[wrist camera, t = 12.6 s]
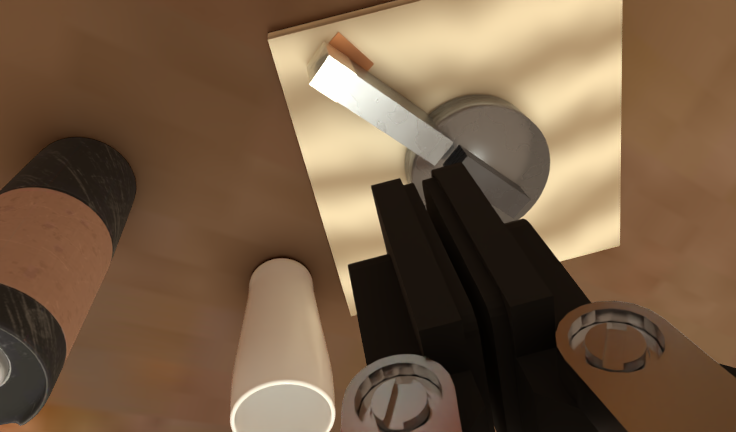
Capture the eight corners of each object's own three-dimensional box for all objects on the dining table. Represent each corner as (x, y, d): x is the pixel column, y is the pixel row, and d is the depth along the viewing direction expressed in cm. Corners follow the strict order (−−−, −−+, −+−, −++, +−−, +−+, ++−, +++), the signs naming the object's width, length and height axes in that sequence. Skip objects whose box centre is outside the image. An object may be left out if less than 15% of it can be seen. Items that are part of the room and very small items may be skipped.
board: (268, 33, 39) (267, 40, 37) (607, -54, 40) (624, -51, 38) (348, 302, 51) (351, 317, 50) (608, 233, 52) (620, 246, 50)
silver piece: (560, 140, 44) (591, 168, 40) (475, 237, 47) (495, 272, 43) (358, -14, 37) (370, -1, 32) (274, 113, 40) (274, 140, 35)
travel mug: (57, 112, 40) (-109, 281, 23) (159, 169, 43) (82, 356, 26) (11, 194, 42) (-171, 403, 25) (111, 242, 45) (10, 459, 28)
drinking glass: (337, 275, 50) (358, 410, 37) (286, 324, 52) (290, 469, 39) (275, 233, 47) (275, 363, 34) (224, 286, 49) (205, 429, 36)
